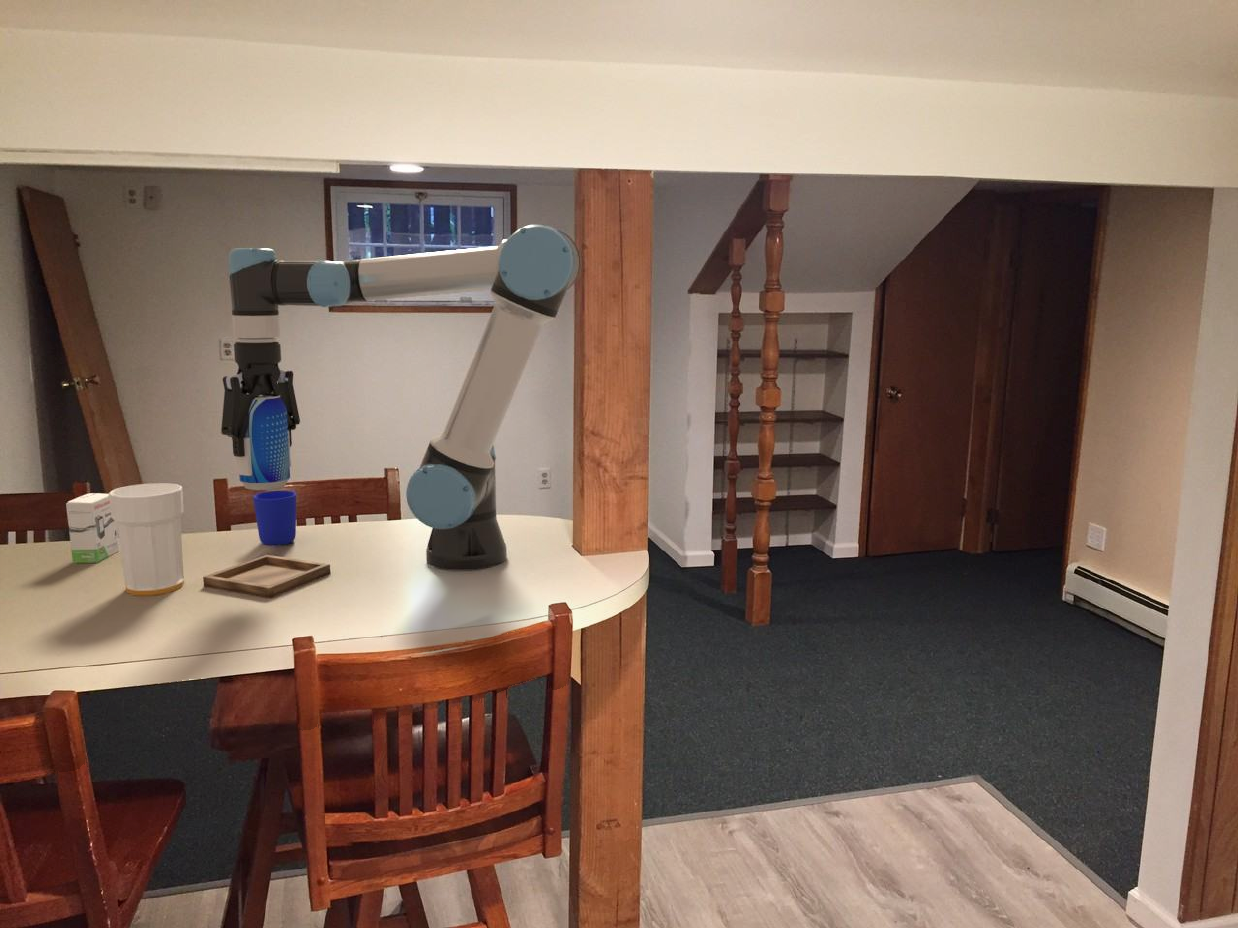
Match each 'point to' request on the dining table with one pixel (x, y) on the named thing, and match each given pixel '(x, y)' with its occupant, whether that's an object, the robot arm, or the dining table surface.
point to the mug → (276, 517)
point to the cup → (149, 536)
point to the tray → (267, 576)
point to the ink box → (91, 528)
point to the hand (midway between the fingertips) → (264, 470)
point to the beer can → (268, 444)
